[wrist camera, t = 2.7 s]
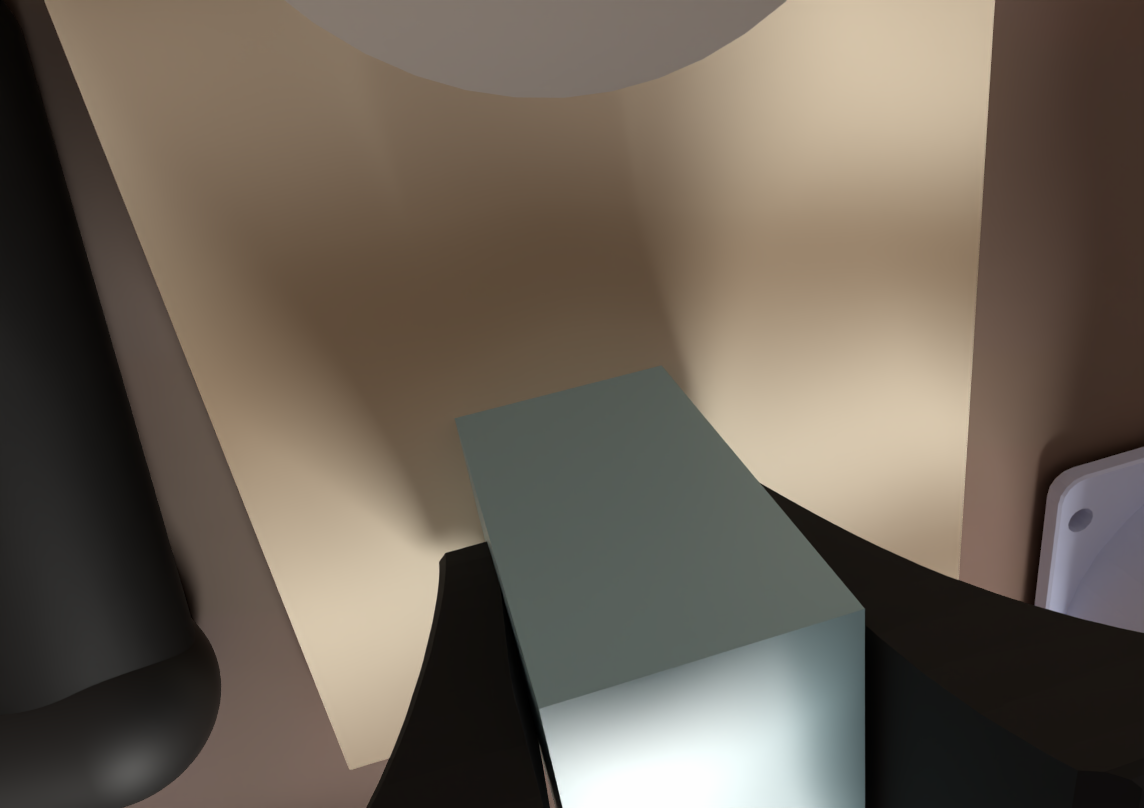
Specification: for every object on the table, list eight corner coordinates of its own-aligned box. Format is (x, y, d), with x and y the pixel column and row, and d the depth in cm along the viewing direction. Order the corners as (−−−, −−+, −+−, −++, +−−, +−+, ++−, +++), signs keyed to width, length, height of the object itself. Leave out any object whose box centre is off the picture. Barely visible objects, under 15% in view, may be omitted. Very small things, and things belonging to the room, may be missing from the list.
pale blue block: (690, 607, 15) (865, 914, 10) (514, 660, 14) (610, 1005, 10) (661, 365, 13) (864, 609, 8) (455, 418, 12) (539, 709, 8)
